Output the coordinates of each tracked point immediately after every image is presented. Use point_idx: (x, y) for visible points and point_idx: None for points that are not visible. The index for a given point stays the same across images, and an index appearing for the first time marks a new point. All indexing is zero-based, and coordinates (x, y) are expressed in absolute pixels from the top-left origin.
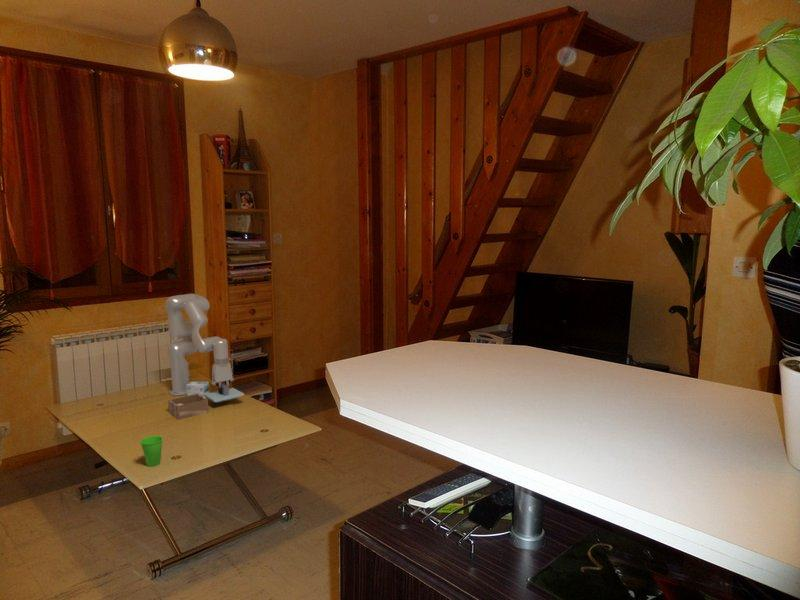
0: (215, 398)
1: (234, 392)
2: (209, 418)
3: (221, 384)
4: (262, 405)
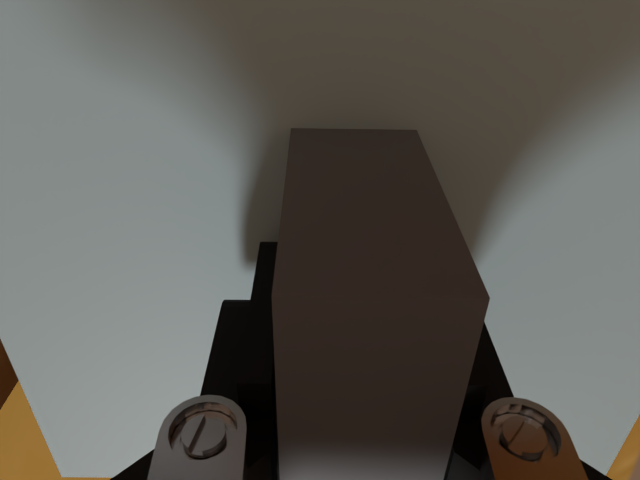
0: (103, 422)
1: (553, 353)
2: (39, 430)
3: (353, 423)
4: (635, 439)
